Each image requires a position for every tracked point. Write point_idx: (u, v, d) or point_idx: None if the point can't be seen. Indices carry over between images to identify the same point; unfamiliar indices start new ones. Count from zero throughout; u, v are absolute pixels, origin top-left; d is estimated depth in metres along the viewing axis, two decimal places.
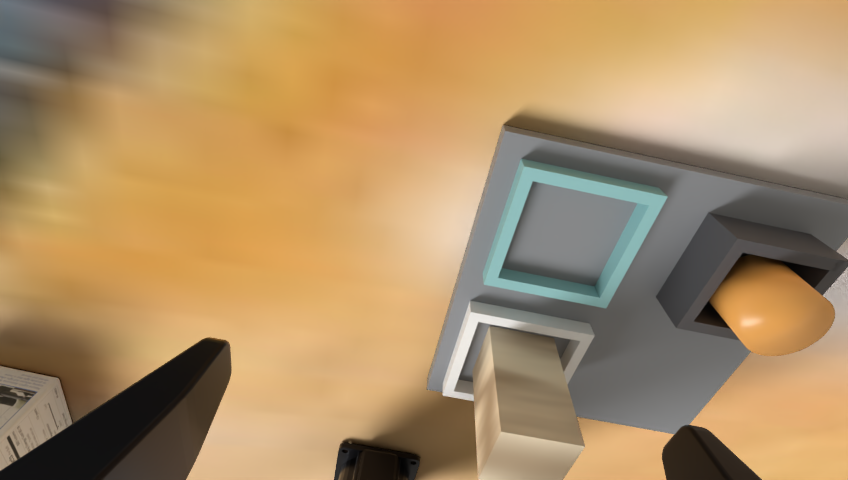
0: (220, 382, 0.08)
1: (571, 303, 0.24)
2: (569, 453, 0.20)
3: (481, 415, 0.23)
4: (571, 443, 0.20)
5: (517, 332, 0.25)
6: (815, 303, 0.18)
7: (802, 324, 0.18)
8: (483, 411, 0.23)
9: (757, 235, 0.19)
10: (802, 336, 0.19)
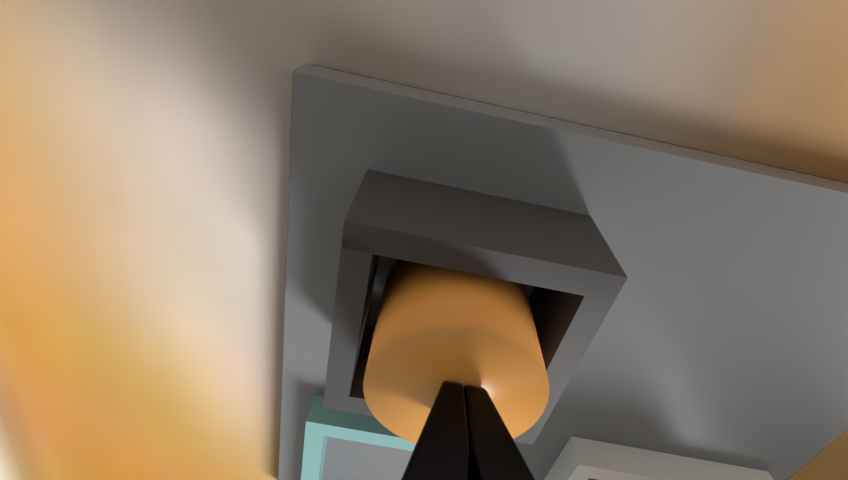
0: None
1: (523, 456, 0.15)
2: None
3: None
4: None
5: None
6: (387, 371, 0.08)
7: (449, 373, 0.08)
8: None
9: None
10: (487, 364, 0.08)
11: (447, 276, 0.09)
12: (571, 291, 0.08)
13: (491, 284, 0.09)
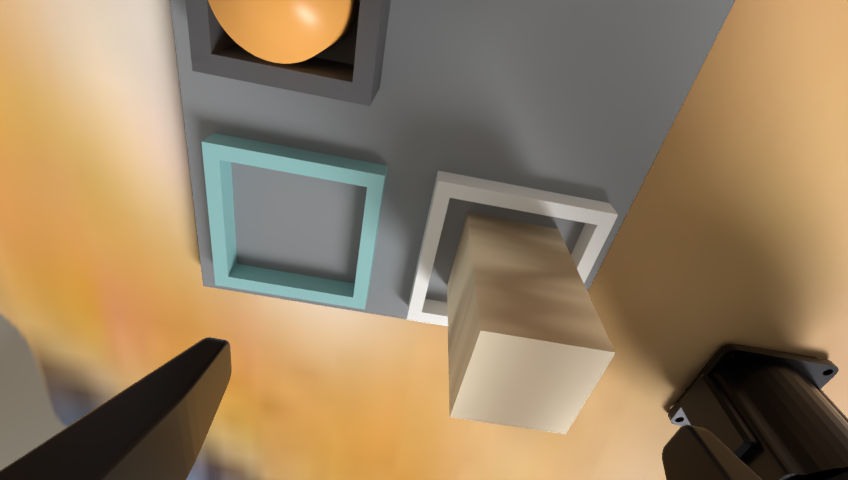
0: (220, 382, 0.08)
1: (402, 199, 0.18)
2: (500, 346, 0.12)
3: None
4: (475, 345, 0.12)
5: (455, 257, 0.19)
6: None
7: None
8: None
9: None
10: None
11: None
12: None
13: None
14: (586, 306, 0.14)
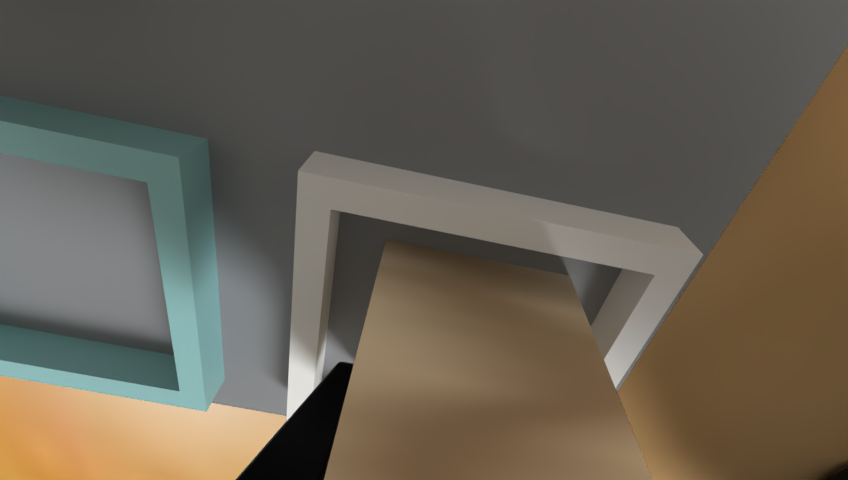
0: None
1: (253, 211, 0.09)
2: None
3: None
4: None
5: None
6: None
7: None
8: None
9: None
10: None
11: None
12: None
13: None
14: None
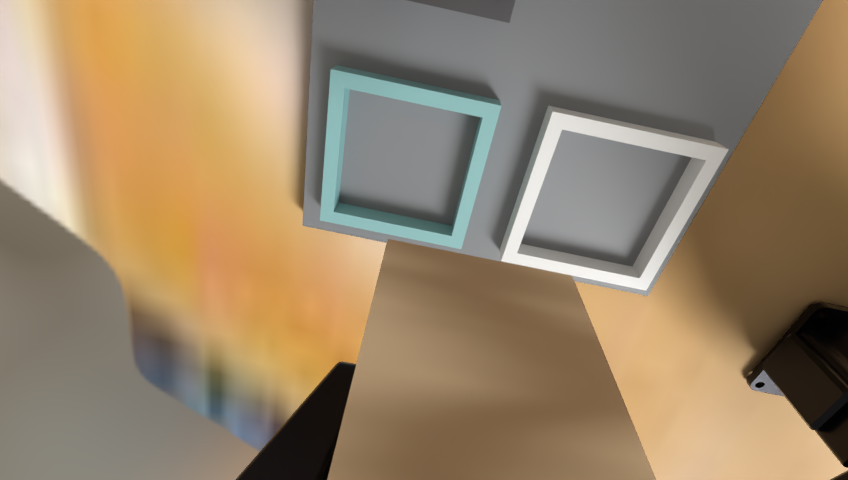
0: None
1: (509, 136, 0.18)
2: None
3: None
4: None
5: None
6: None
7: None
8: None
9: None
10: None
11: None
12: None
13: None
14: None
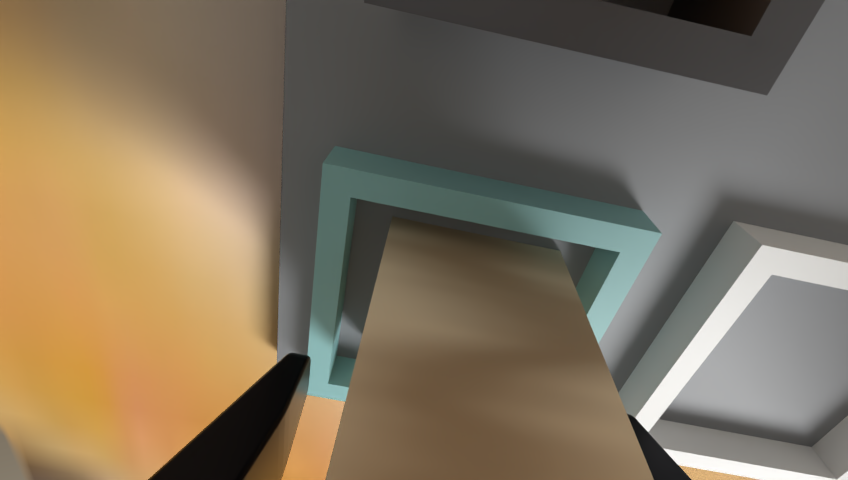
0: (302, 397, 0.08)
1: (649, 268, 0.10)
2: None
3: None
4: None
5: None
6: None
7: None
8: None
9: None
10: None
11: None
12: None
13: None
14: (623, 453, 0.06)
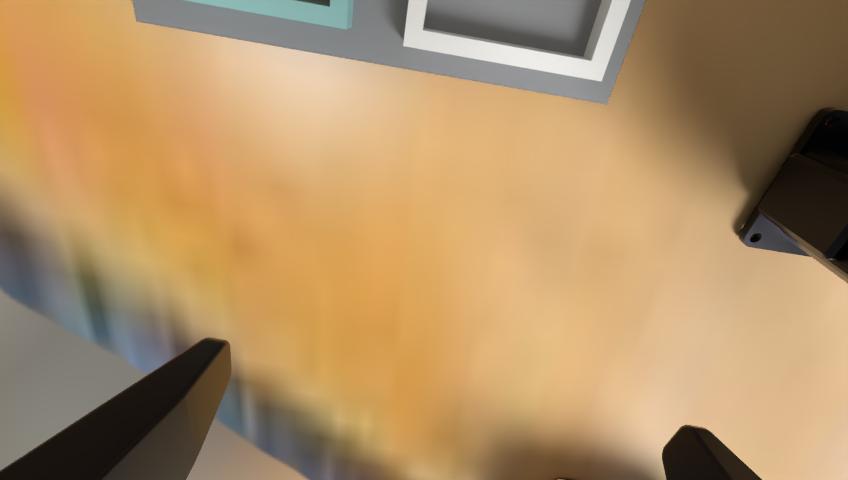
0: (220, 382, 0.08)
1: None
2: None
3: None
4: None
5: None
6: None
7: None
8: None
9: None
10: None
11: None
12: None
13: None
14: None
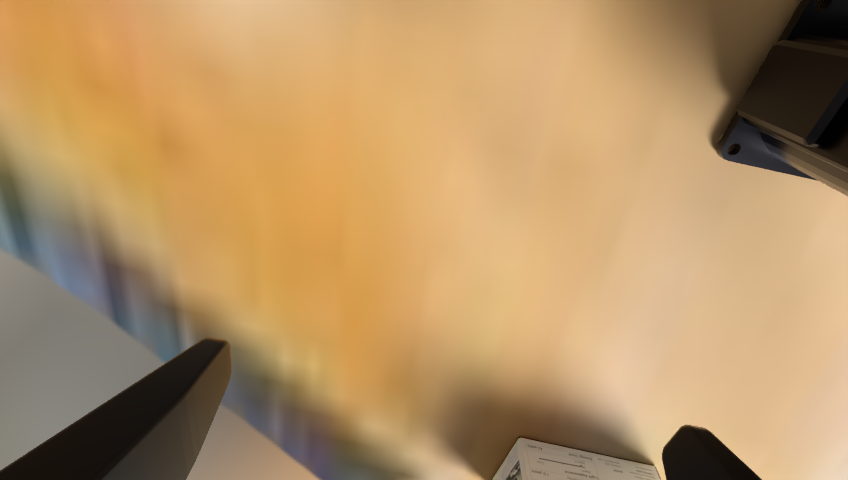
0: (220, 382, 0.08)
1: None
2: None
3: None
4: None
5: None
6: None
7: None
8: None
9: None
10: None
11: None
12: None
13: None
14: None
